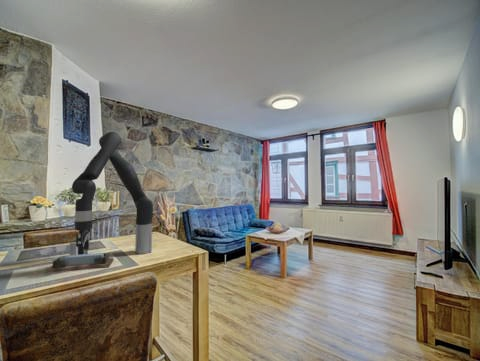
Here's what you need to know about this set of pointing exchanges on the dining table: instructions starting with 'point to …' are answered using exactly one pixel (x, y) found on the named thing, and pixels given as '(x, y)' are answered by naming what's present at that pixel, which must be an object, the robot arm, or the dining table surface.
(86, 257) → the grey long block
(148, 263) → the dining table surface
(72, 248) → the medicine box
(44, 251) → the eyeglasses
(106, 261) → the endcap board
